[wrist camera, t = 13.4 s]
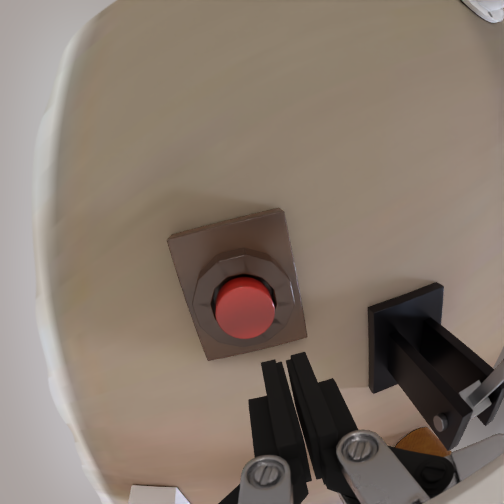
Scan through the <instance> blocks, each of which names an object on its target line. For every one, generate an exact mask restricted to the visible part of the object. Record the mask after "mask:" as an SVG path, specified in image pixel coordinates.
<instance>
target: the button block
mask: <svg viewBox="0 0 504 504" xmlns="http://www.w3.org/2000/svg"><path fill="white" fill-rule="evenodd" d="M167 242H168V246H169V249H170V252H171V256H172V259H173V262H174V265H175V269H176V272H177V275H178V278H179V281H180V284H181V287H182V290H183V293H184V296H185V299H186V302H187V305H188V308H189V311H190V314H191V317H192V319H193V322H194V325H195V328H196V331H197V333H198V336H199V339H200V341H201V344H202V347H203V349H204V352H205V355H206V357H207V360H208V361H210V360H215V359H220V358H225V357H230V356H234V355H239V354H243V353H248V352H252V351H256V350H261V349H265V348H269V347H273V346H277V345H281V344H284V343H288V342H292V341H296V340H299V339H303V338H306V337H307V332H306V326H305V320H304V314H303V308H302V302H301V297H300V291H299V286H298V280H297V275H296V270H295V264H294V259H293V254H292V249H291V244H290V239H289V234H288V229H287V224H286V219H285V214H284V211H283V210H281V209H280V208H276V209H272V210H268V211H263V212H259V213H255V214H251V215H247V216H242V217H238V218H234V219H230V220H226V221H222V222H218V223H214V224H210V225H206V226H202V227H198V228H194V229H191V230H187V231H183V232H179V233H175V234H172V235H171V236H170V237H169V238H168V239H167ZM238 277H250V278H254V279H256V280H258V281H260V282H262V283H263V284H264V285H265V286H266V287H267V289H268V291H269V293H270V296H271V298H272V301H273V304H274V307H275V316H274V319H273V322H272V324H271V325H270V327H269V328H268V329H267V330H266V331H265V332H264V333H262V334H261V335H259V336H257V337H254V338H249V339H239V338H235V337H232V336H230V335H228V334H227V333H225V332H224V331H223V330H222V329H221V328H220V326H219V325H218V323H217V320H216V315H215V312H216V298H217V294H218V292H219V290H220V289H221V287H222V286H223V285H224V284H225V283H227V282H228V281H230V280H232V279H235V278H238Z"/></svg>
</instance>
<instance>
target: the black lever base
mask: <svg viewBox="0 0 504 504" xmlns="http://www.w3.org/2000/svg"><path fill="white" fill-rule="evenodd" d="M443 291H444V286H442V285H441V284H439V283H437V282H436V283H433V284H431V285H428V286H426V287H423V288H420V289H418V290H415V291H412V292H410V293H407V294H404V295H402V296H399V297H396V298H393V299H391V300H388V301H385V302H382V303H379V304H376V305H373V306H370V307H368V323H369V388H370V389H371V391H372V393H373V394H374V393H377V392H379V391H382V390H384V389H387V388H389V387H391V386H394V385H396V384H399V386H400V387H401V388H402V389H403V391H404V392H405V393H406V395H407V396H408V397H409V399H410V400H411V401H412V403H413V404H414V405H415V407H416V408H417V410H418V411H419V412H420V414H421V415H422V416H423V418H424V419H425V420H426V422H427V423H428V424H429V426H430V427H431V429H432V430H433V431H434V433H435V434H436V435H437V437H438V438H439V440H440V441H441V442H442V444H443V445H444V447H445V448H446V449H447V451H449V450H451V449H453V448H454V447H456V446H457V445H458V444H459V441H460V439H461V437H462V435H463V433H464V431H465V429H466V427H467V424H468V422H469V420H470V418H471V415H472V413H473V409H472V408H471V407H470V406H469V405H468V404H467V403H466V402H465V401H464V399H463V398H462V397H461V396H460V395H459V394H458V393H459V392H461V391H462V390H464V389H465V388H467V387H469V386H470V385H472V384H473V383H475V382H476V381H478V380H479V381H480V383H482V382H483V381H484V380H485V379H486V378H487V377H488V376H489V375H490V374H491V373H492V372H493V371H494V369H493V368H492V367H491V366H490V365H488V364H487V363H486V362H485V361H484V360H483V359H481V358H480V357H479V356H478V355H477V354H476V353H474V352H473V351H472V350H471V349H470V348H468V347H467V346H466V345H465V344H464V343H462V342H461V341H460V340H459V339H458V338H456V337H455V336H454V335H453V334H452V333H450V332H449V331H448V330H447V329H445V328H444V327H443V326H442V325H441V318H442V306H443ZM488 398H489V399H490V401H491V403H492V404H491V405H490V406H489V407H488V408H486V409H485V410H484V411H483V412H481V413H480V414H479V415H477V417H478V418H479V419H480V421H482V423H483V424H484V425H485V426H486V425H487V424H488V423H490V422H491V421H492V420H493V419H494V417H495V415H496V413H497V411H498V409H499V407H500V404H501V402H502V400H503V398H504V381H503V382H502V383H501V384H500V385H499V386H498V387H497V388H496V389H495V390H494V391H493V392H492V393H491V394H490V395H489V396H488Z"/></svg>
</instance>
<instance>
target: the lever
mask: <svg viewBox="0 0 504 504" xmlns="http://www.w3.org/2000/svg"><path fill="white" fill-rule="evenodd" d="M503 381H504V359H503V361H502V362H501V363H500V364H499V365H498V366H497V368H495V370H494V371H493V372H492V373H491V374H490V375H489V376H488V377H487V378H486V379H485V380H484V381H483V382H482V383H480V381H479V380H478V381H476V382H475V383H473V384H472V385H470V386H469V387H467V388H465V389H464V390H462V391H461V392H459V393H458V394H459V395H460V396H461V397H462V398H463V399H464V401H465V402H466V403H467V404H468V405H469V406H470V407H471V408H472V409H473V413H472V415H471V418H470V420H472V419H473V418H475V417H476V416H477V415H479V414H480V413H481V412H483V411H484V410H485V409H486V408H488V407H489V406H490V405H491V404H492V403H491V401H490V399H489V398H488V396H489V395H490V394H491V393H492V392H493V391H494V390H495V389H496V388H497V387H498V386H499V385H500V384H501V383H502V382H503ZM470 420H469V421H470Z"/></svg>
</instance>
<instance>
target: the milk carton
mask: <svg viewBox="0 0 504 504" xmlns="http://www.w3.org/2000/svg"><path fill="white" fill-rule="evenodd" d="M128 504H190V503H189V502H188V500H187V499H186V498H185V497H184V496H183V494H182V493H181V492H180V491H179V489H178V488H177V487H155V486H140V485H132V486H131V491H130V496H129V502H128Z"/></svg>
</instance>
